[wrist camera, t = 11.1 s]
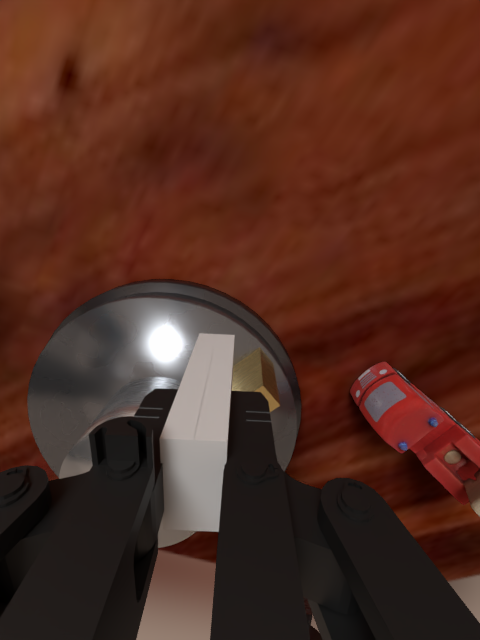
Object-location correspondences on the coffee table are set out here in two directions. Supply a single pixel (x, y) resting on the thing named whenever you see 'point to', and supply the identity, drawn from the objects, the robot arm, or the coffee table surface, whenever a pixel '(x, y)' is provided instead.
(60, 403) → the turntable
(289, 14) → the coffee table surface
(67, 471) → the cover
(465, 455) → the toy fire truck
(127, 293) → the base
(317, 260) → the coffee table surface
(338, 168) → the coffee table surface
